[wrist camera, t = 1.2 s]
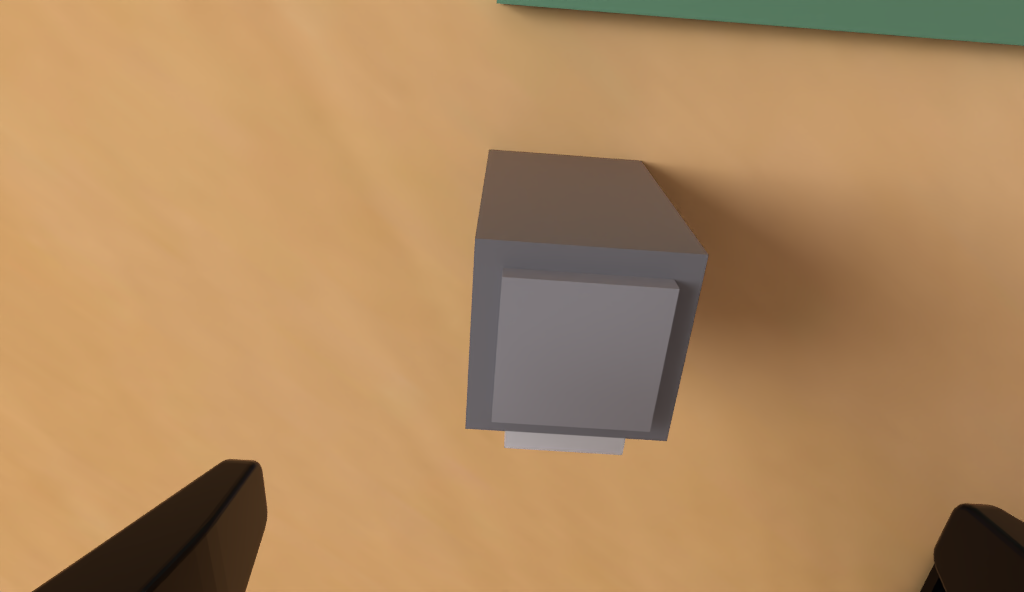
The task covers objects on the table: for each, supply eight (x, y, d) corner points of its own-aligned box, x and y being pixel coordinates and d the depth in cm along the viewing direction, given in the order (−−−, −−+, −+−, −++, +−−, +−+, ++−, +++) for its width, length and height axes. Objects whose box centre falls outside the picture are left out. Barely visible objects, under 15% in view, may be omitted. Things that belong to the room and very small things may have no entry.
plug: (641, 160, 17) (715, 263, 11) (616, 312, 19) (666, 474, 13) (489, 149, 17) (473, 247, 10) (480, 302, 19) (462, 461, 12)
